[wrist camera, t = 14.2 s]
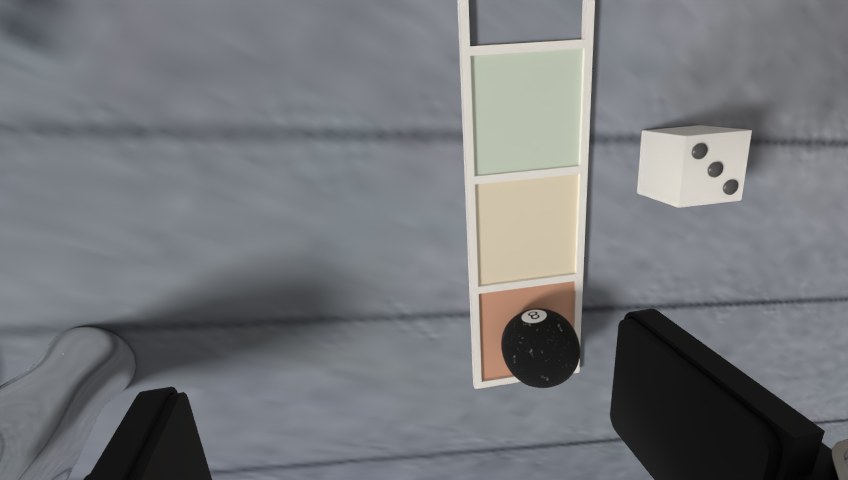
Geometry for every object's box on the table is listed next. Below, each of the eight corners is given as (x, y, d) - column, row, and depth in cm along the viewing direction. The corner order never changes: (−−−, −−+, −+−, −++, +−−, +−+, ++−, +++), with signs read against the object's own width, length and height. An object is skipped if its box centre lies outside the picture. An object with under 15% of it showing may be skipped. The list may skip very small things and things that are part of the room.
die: (641, 130, 36) (687, 136, 31) (700, 125, 37) (753, 130, 32) (637, 193, 38) (679, 208, 33) (692, 187, 38) (743, 200, 34)
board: (453, -106, 29) (455, -109, 29) (595, -108, 31) (599, -112, 30) (473, 384, 41) (475, 389, 40) (575, 368, 42) (579, 372, 42)
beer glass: (163, 361, 36) (43, 537, 22) (99, 417, 36) (-57, 624, 22) (84, 302, 33) (-107, 455, 19) (17, 362, 34) (-216, 555, 20)
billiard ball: (499, 368, 40) (523, 413, 35) (486, 308, 38) (509, 346, 33) (563, 348, 41) (598, 389, 35) (553, 288, 39) (589, 321, 33)
